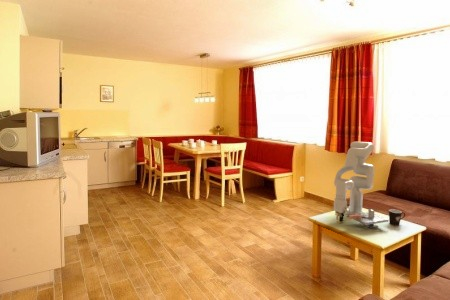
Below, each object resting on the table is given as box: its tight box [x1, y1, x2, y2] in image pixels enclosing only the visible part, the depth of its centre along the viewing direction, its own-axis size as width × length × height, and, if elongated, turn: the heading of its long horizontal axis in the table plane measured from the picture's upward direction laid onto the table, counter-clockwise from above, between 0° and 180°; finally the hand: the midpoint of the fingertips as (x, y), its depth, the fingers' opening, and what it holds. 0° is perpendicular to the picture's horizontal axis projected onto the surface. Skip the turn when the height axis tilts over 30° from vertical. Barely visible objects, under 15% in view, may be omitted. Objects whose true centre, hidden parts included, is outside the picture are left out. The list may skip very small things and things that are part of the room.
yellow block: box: [334, 211, 344, 224], centre depth 228 cm, size 3×7×8 cm, turn 109°
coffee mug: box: [388, 208, 406, 227], centre depth 224 cm, size 12×9×10 cm
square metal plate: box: [346, 208, 389, 229], centre depth 220 cm, size 18×21×12 cm
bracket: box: [348, 213, 361, 221], centre depth 216 cm, size 6×8×3 cm
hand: (339, 220), depth 228 cm, fingers closed on yellow block, 2 cm apart
